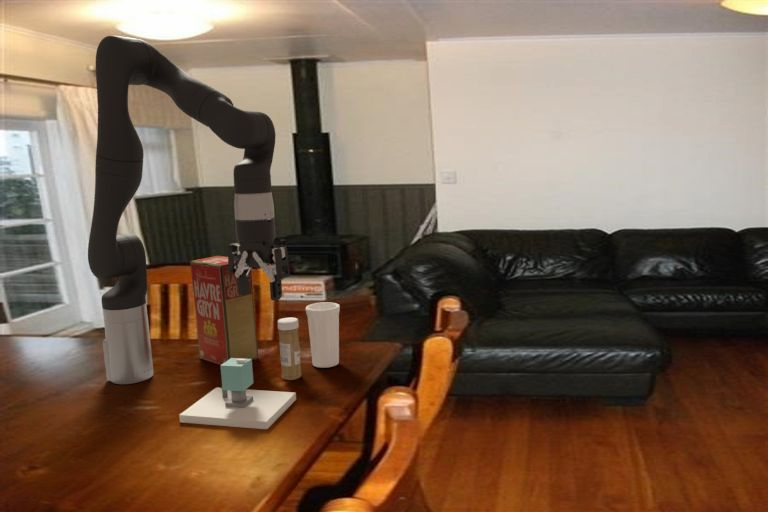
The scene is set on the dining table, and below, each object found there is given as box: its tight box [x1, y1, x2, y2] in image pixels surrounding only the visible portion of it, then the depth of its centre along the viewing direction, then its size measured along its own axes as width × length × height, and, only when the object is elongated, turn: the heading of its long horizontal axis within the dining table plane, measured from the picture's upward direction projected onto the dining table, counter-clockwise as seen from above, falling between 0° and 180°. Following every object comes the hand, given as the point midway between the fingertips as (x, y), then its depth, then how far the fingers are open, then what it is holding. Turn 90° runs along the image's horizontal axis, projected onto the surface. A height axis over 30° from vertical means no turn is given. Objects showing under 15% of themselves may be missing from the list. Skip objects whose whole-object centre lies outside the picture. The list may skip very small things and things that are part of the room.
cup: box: [305, 301, 341, 369], centre depth 146 cm, size 8×8×14 cm
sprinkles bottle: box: [277, 317, 302, 381], centre depth 139 cm, size 5×5×13 cm
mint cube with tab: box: [220, 358, 254, 391], centre depth 121 cm, size 4×4×6 cm
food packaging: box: [189, 255, 259, 365], centre depth 153 cm, size 13×9×25 cm
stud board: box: [178, 386, 297, 430], centre depth 122 cm, size 18×14×5 cm
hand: (260, 297), depth 123 cm, fingers open, 8 cm apart
